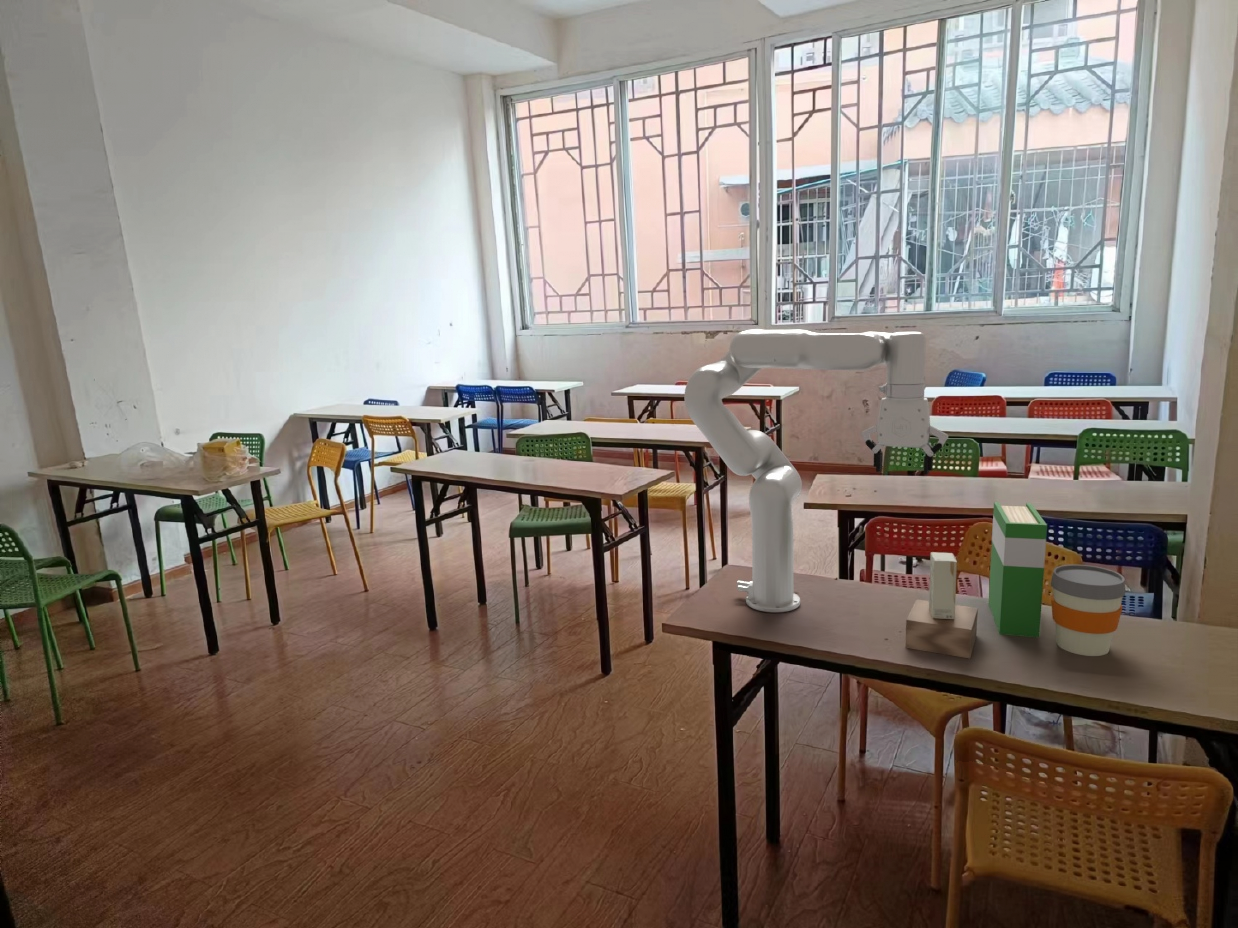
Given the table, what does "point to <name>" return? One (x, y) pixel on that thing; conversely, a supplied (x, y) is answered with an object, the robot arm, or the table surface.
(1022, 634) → the hardback book
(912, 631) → the walnut block
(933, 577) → the skincare box
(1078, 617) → the reusable coffee cup
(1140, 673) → the table surface
